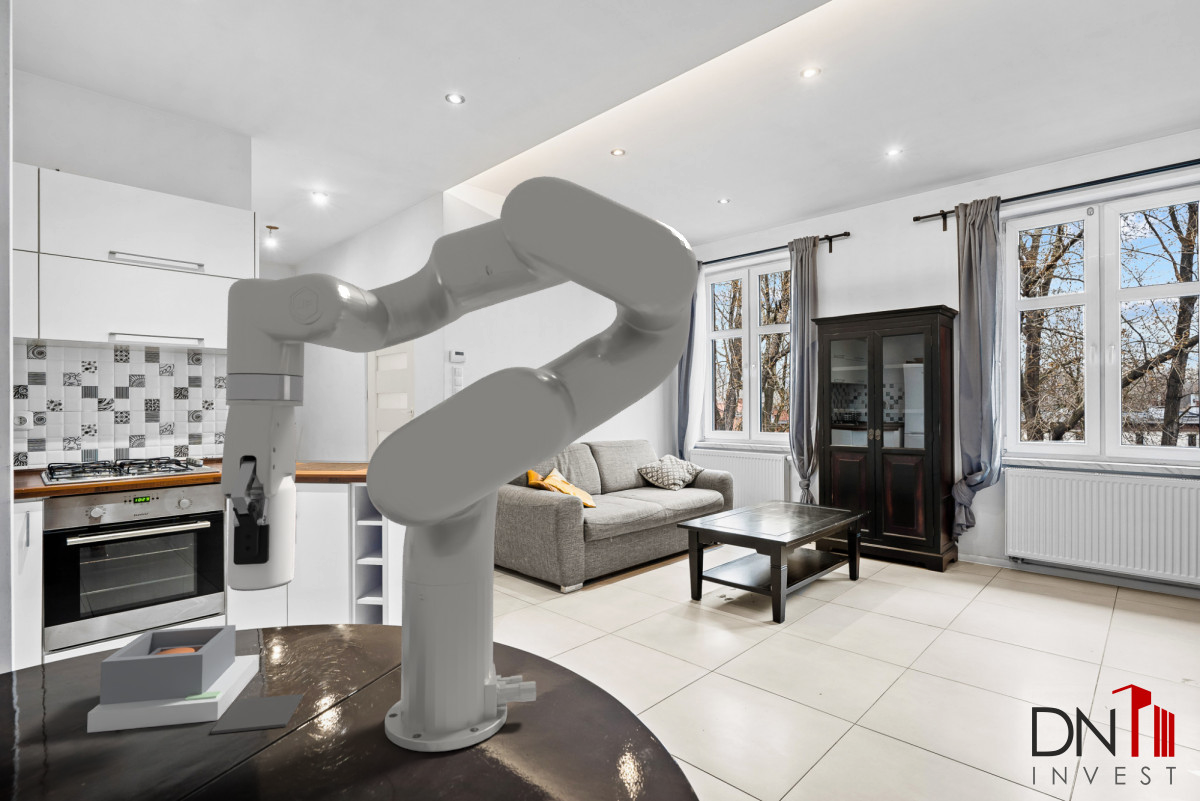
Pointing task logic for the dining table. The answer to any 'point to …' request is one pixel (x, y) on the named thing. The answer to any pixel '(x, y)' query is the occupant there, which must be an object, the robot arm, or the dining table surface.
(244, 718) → the mat
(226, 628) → the box
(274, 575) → the can
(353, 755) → the dining table surface
